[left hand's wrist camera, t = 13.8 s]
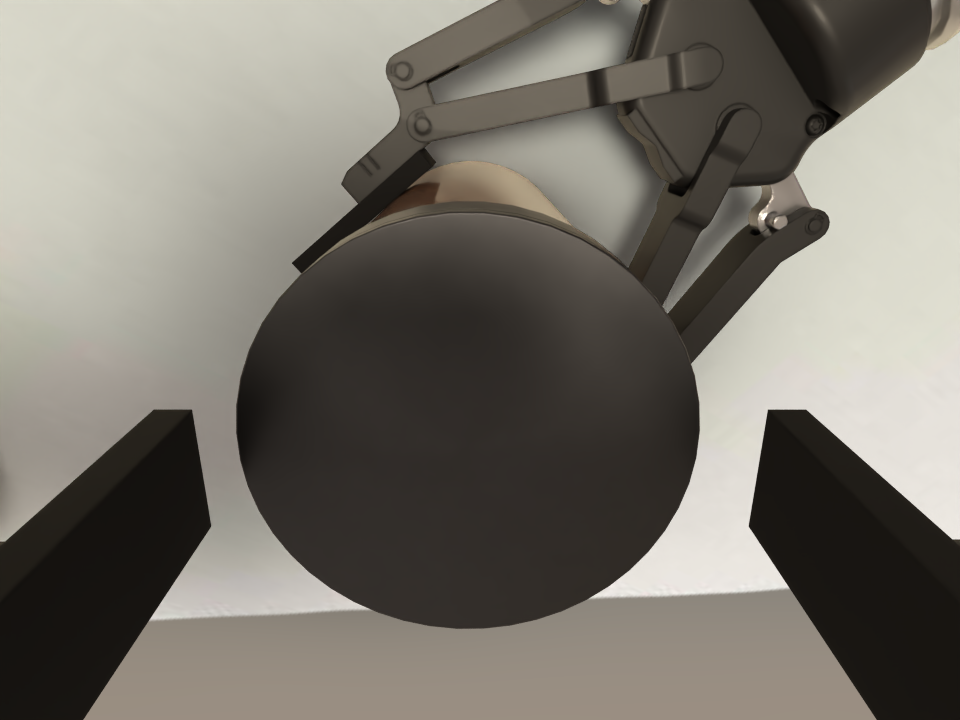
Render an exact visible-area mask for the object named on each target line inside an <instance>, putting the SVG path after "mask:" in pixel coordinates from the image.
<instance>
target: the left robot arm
mask: <svg viewBox="0 0 960 720" xmlns="http://www.w3.org/2000/svg"><path fill="white" fill-rule="evenodd" d="M210 527H211V522H210V516H209V510H208V504H207V498H206V492H205V486H204V480H203V473H202V467H201V461H200V455H199V449H198V443H197V437H196V431H195V425H194V419H193V413H192V410H153V411H152V412H151V413H150V414H149V415H147V416H146V417H145V418H144V419H143V420H142V421H141V422H140V423H138V424H137V425H136V426H135V427H134V428H133V429H132V430H130V431H129V432H128V433H127V434H126V435H125V436H124V437H123V438H121V439H120V440H119V441H118V442H117V443H116V444H115V445H114V446H112V447H111V448H110V449H109V450H108V451H107V452H106V453H105V454H103V455H102V456H101V457H100V458H99V459H98V460H97V461H96V462H94V463H93V464H92V465H91V466H90V467H89V468H88V469H87V470H85V471H84V472H83V473H82V474H81V475H80V476H79V477H78V478H76V479H75V480H74V481H73V482H72V483H71V484H70V485H69V486H67V487H66V488H65V489H64V490H63V491H62V492H61V493H60V494H58V495H57V496H56V497H55V498H54V499H53V500H52V501H50V502H49V503H48V504H47V505H46V506H45V507H44V508H43V509H41V510H40V511H39V512H38V513H37V514H36V515H35V516H34V517H32V518H31V519H30V520H29V521H28V522H27V523H26V524H25V525H23V526H22V527H21V528H20V529H19V530H18V531H17V532H16V533H14V534H13V535H12V536H11V537H10V538H9V539H8V540H7V541H5V542H0V720H83V719H84V718H85V716H86V715H87V713H88V712H89V710H90V709H91V707H92V706H93V704H94V703H95V701H96V700H97V698H98V697H99V695H100V694H101V692H102V691H103V689H104V687H105V686H106V685H107V683H108V682H109V680H110V678H111V677H112V675H113V674H114V672H115V671H116V669H117V668H118V666H119V665H120V663H121V662H122V660H123V659H124V657H125V656H126V654H127V653H128V651H129V650H130V648H131V647H132V645H133V644H134V642H135V641H136V639H137V638H138V636H139V635H140V633H141V632H142V630H143V629H144V627H145V626H146V624H147V623H148V621H149V620H150V618H151V617H152V615H153V614H154V612H155V611H156V609H157V607H158V606H159V604H160V603H161V601H162V600H163V598H164V597H165V595H166V594H167V592H168V591H169V589H170V588H171V586H172V585H173V583H174V582H175V580H176V579H177V577H178V576H179V574H180V573H181V571H182V570H183V568H184V567H185V565H186V564H187V562H188V561H189V559H190V558H191V556H192V555H193V553H194V552H195V550H196V549H197V547H198V546H199V544H200V543H201V541H202V540H203V538H204V537H205V535H206V533H207V532H208V530H209V529H210ZM749 527H750V529H751V530H752V532H753V533H754V535H755V537H756V538H757V540H758V541H759V543H760V544H761V546H762V547H763V549H764V550H765V552H766V553H767V555H768V556H769V558H770V559H771V561H772V562H773V564H774V565H775V567H776V568H777V570H778V571H779V573H780V574H781V576H782V577H783V579H784V580H785V582H786V583H787V585H788V586H789V588H790V589H791V591H792V592H793V594H794V595H795V597H796V598H797V600H798V601H799V603H800V604H801V606H802V607H803V609H804V610H805V612H806V614H807V615H808V617H809V618H810V620H811V621H812V622H813V624H814V626H815V627H816V629H817V630H818V632H819V633H820V635H821V636H822V638H823V639H824V641H825V642H826V644H827V645H828V647H829V648H830V650H831V651H832V653H833V654H834V656H835V657H836V659H837V660H838V662H839V663H840V665H841V666H842V668H843V669H844V671H845V672H846V674H847V675H848V677H849V678H850V680H851V682H852V683H853V684H854V686H855V687H856V689H857V691H858V692H859V693H860V695H861V697H862V698H863V700H864V701H865V703H866V704H867V706H868V707H869V709H870V710H871V712H872V713H873V715H874V716H875V718H876V719H877V720H960V540H952V539H951V538H950V537H949V536H948V535H947V534H946V533H944V532H943V531H942V530H941V529H940V528H939V527H938V526H937V525H935V524H934V523H933V522H932V521H931V520H930V519H929V518H928V517H926V516H925V515H924V514H923V513H922V512H921V511H920V510H919V509H917V508H916V507H915V506H914V505H913V504H912V503H911V502H910V501H908V500H907V499H906V498H905V497H904V496H903V495H902V494H900V493H899V492H898V491H897V490H896V489H895V488H894V487H893V486H891V485H890V484H889V483H888V482H887V481H886V480H885V479H884V478H882V477H881V476H880V475H879V474H878V473H877V472H876V471H875V470H873V469H872V468H871V467H870V466H869V465H868V464H867V463H866V462H864V461H863V460H862V459H861V458H860V457H859V456H858V455H857V454H855V453H854V452H853V451H852V450H851V449H850V448H849V447H848V446H846V445H845V444H844V443H843V442H842V441H841V440H840V439H839V438H837V437H836V436H835V435H834V434H833V433H832V432H831V431H830V430H828V429H827V428H826V427H825V426H824V425H823V424H822V423H820V422H819V421H818V420H817V419H816V418H815V417H814V416H813V415H811V414H810V413H809V412H808V411H807V410H768V413H767V419H766V425H765V431H764V437H763V443H762V449H761V455H760V461H759V467H758V473H757V480H756V486H755V492H754V498H753V504H752V510H751V516H750V522H749Z"/></svg>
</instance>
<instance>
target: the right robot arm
mask: <svg viewBox="0 0 960 720" xmlns="http://www.w3.org/2000/svg"><path fill="white" fill-rule="evenodd" d="M586 1H587V0H498V1H496V2H494V3H492V4H490V5H488V6H486V7H484V8H483V9H481V10H479V11H477V12H475V13H473V14H471V15H469V16H467V17H465V18H463V19H461V20H459V21H458V22H456V23H454V24H452V25H450V26H448V27H446V28H444V29H442V30H440V31H438V32H436V33H435V34H433V35H431V36H429V37H427V38H425V39H423V40H421V41H419V42H417V43H415V44H413V45H411V46H410V47H408V48H406V49H404V50H402V51H400V52H398V53H396V54H394V55H393V56H392V57H391V58H390V59H389V61H388V63H387V65H386V74H387V78H388V80H389V81H390V83H391V85H392V88H393V91H394V93H395V96H396V99H397V101H398V104H399V108H400V117H399V121H398V123H397V125H396V127H395V128H394V129H393V130H392V131H391V132H390V133H389V134H388V135H387V136H385V137H384V138H383V139H382V140H381V141H380V142H379V143H378V144H377V145H376V146H374V147H373V148H372V149H371V150H370V151H369V152H368V153H367V154H366V155H365V156H363V157H362V158H361V159H360V160H359V161H358V162H357V163H356V164H355V165H354V166H352V167H351V168H350V169H349V170H348V171H347V173H346V175H345V177H344V179H343V182H342V184H341V185H342V186H343V187H344V188H345V189H346V190H347V191H348V193H349V194H350V195H351V196H352V197H353V198H354V199H355V201H356V202H357V203H358V205H357V206H355V207H354V208H353V209H352V210H351V211H350V212H349V213H348V214H346V215H345V216H344V217H343V218H342V219H341V220H340V221H339V222H337V223H336V224H335V225H334V226H333V227H332V228H331V229H330V230H328V231H327V232H326V233H325V234H324V235H323V236H322V237H321V238H319V239H318V240H317V241H316V242H315V243H314V244H313V245H312V246H310V247H309V248H308V249H307V250H306V251H305V252H304V253H303V254H301V255H300V256H299V257H298V258H297V259H296V260H295V261H294V262H292V264H293V265H294V266H295V267H296V268H297V269H298V270H299V271H300V272H301V273H303V272H304V271H305V270H306V269H308V268H309V267H310V266H311V265H312V264H313V263H314V262H315V261H316V260H317V259H319V258H320V257H321V256H322V255H324V254H325V253H326V252H327V251H328V250H330V249H331V248H332V247H333V246H335V245H336V244H337V243H338V242H339V241H341V240H342V239H344V238H346V237H347V236H349V235H351V234H352V233H354V232H356V231H357V230H359V229H360V228H362V227H364V226H365V225H366V224H368V223H369V222H370V221H371V220H372V219H373V218H374V217H375V216H377V215H378V214H379V213H380V212H381V211H382V210H383V209H385V208H386V207H387V206H388V205H389V204H390V203H391V202H393V201H394V200H395V199H396V198H397V197H398V196H399V195H401V194H402V193H403V192H404V191H405V190H406V189H407V188H409V187H410V186H411V185H412V184H413V183H414V182H415V181H417V180H418V179H419V178H420V177H421V176H422V175H423V174H424V173H426V172H427V171H428V170H429V169H430V168H431V167H432V166H433V165H434V164H435V163H436V162H435V160H434V159H433V158H432V157H431V155H430V154H429V153H428V152H427V151H426V149H425V147H426V146H427V145H428V144H429V143H430V142H432V141H436V140H441V139H446V138H450V137H455V136H460V135H465V134H469V133H474V132H479V131H484V130H489V129H493V128H498V127H503V126H508V125H512V124H517V123H522V122H527V121H531V120H536V119H541V118H546V117H550V116H555V115H560V114H565V113H570V112H574V111H579V110H584V109H589V108H594V107H599V106H604V105H609V104H614V103H616V105H617V110H618V113H619V114H618V115H616V116H617V118H618V119H619V121H620V122H621V124H622V125H623V126H624V128H625V129H626V131H627V132H628V133H630V134H631V135H632V136H633V137H635V138H636V139H637V140H638V141H640V142H641V143H642V144H643V146H644V149H645V151H646V154H647V157H648V160H649V163H650V165H651V166H652V167H653V169H654V170H655V172H656V173H657V175H658V176H659V177H660V179H663V180H666V181H667V182H666V185H665V187H664V189H663V191H662V193H661V195H660V197H659V199H658V202H657V210H656V213H655V215H654V217H653V219H652V221H651V223H650V225H649V227H648V229H647V231H646V234H645V236H644V238H643V240H642V242H641V244H640V246H639V248H638V250H637V252H636V254H635V256H634V258H633V260H632V262H631V264H630V266H629V268H628V269H629V270H630V271H631V272H632V273H633V274H634V275H635V276H636V277H637V278H638V279H639V280H640V281H641V282H642V283H643V284H644V285H645V286H646V287H647V289H648V290H649V291H650V292H651V293H652V294H653V295H654V296H655V297H656V298H657V300H658V301H659V303H660V304H661V306H662V305H663V303H664V301H665V299H666V298H667V296H668V294H669V292H670V290H671V288H672V286H673V284H674V282H675V280H676V278H677V276H678V274H679V272H680V270H681V268H682V267H683V265H684V263H685V261H686V259H687V257H688V255H689V253H690V251H691V249H692V247H693V245H694V243H695V241H696V239H697V238H698V236H699V234H700V232H701V231H702V230H703V229H704V228H706V227H707V226H708V225H709V224H710V222H711V221H712V219H713V217H714V215H715V213H716V211H717V209H718V208H719V206H720V204H721V202H722V200H723V198H724V196H725V194H726V192H727V190H728V188H733V187H748V186H761V187H762V195H761V198H760V200H759V202H758V203H757V204H756V205H755V206H754V207H753V208H752V209H751V211H750V212H749V216H748V221H749V224H748V225H747V226H745V227H744V228H743V229H742V230H741V231H739V232H738V233H737V234H736V235H735V236H734V237H733V238H732V239H731V240H730V241H729V242H728V243H727V244H726V246H725V247H724V248H723V249H722V250H721V252H720V253H719V254H718V255H717V256H716V257H715V259H714V260H713V261H712V262H711V263H710V265H709V266H708V267H707V268H706V269H705V270H704V272H703V273H702V274H701V275H700V276H699V278H698V279H697V280H696V281H695V282H694V283H693V285H692V286H691V287H690V288H689V289H688V290H687V292H686V293H685V294H684V295H683V296H682V298H681V299H680V300H679V301H678V302H677V303H676V305H675V306H674V307H673V308H672V309H671V311H670V312H669V313H668V316H669V317H670V319H671V320H672V321H673V323H674V325H675V327H676V329H677V331H678V333H679V335H680V337H681V339H682V341H683V343H684V345H685V348H686V350H687V353H688V356H689V360H690V363H692V362H693V361H694V360H695V359H696V358H697V356H698V355H699V354H700V353H701V352H702V351H703V350H704V349H705V347H706V346H707V345H708V344H709V343H710V342H711V341H712V340H713V338H714V337H715V336H716V335H717V334H718V333H719V332H720V330H721V329H722V328H723V327H724V326H725V325H726V324H727V323H728V321H729V320H730V319H731V318H732V317H733V316H734V315H735V314H736V312H737V311H738V310H739V309H740V308H741V307H742V306H743V304H744V303H745V302H746V301H747V300H748V299H749V298H750V297H751V295H752V294H753V293H754V292H755V291H756V290H757V289H758V288H759V286H760V285H761V284H762V283H763V282H764V281H765V280H766V278H767V277H768V276H769V275H770V274H771V273H772V272H773V271H774V269H775V268H776V267H777V266H778V265H779V264H780V263H781V262H782V261H784V260H785V259H787V258H789V257H790V256H792V255H794V254H795V253H797V252H799V251H800V250H802V249H803V248H805V247H807V246H808V245H810V244H812V243H813V242H815V241H817V240H818V239H820V238H821V237H822V236H823V235H825V233H826V232H827V230H828V228H829V223H830V222H829V217H828V215H827V214H826V213H825V212H824V211H821V210H819V209H815V208H812V207H811V206H810V205H809V203H808V201H807V199H806V197H805V195H804V192H803V190H802V188H801V186H800V184H799V182H798V180H797V178H796V176H795V174H794V171H795V169H796V168H797V166H798V165H799V163H800V161H801V159H802V157H803V155H804V153H805V152H806V150H807V149H808V148H809V146H810V145H811V144H812V143H813V142H814V141H815V140H816V139H817V138H819V137H820V136H821V135H823V134H824V133H826V132H827V131H829V130H830V129H832V128H833V127H834V126H836V125H837V124H839V123H840V122H841V121H843V120H844V119H845V118H846V117H848V116H849V115H850V114H852V113H853V112H854V111H856V110H857V109H858V108H860V107H861V106H862V105H863V104H865V103H866V102H867V101H869V100H870V99H871V98H873V97H874V96H875V95H877V94H878V93H879V92H881V91H882V90H883V89H884V88H886V87H887V86H888V85H890V84H891V83H892V82H894V81H895V80H896V79H898V78H899V77H900V76H901V75H903V74H904V73H905V72H907V71H908V70H909V69H911V68H912V67H913V66H915V64H916V63H917V62H918V61H919V60H920V59H921V57H922V55H923V54H924V51H925V50H932V49H935V48H936V47H938V46H940V45H942V44H944V43H946V42H947V41H948V40H950V39H951V38H952V37H954V36H955V35H956V34H957V33H959V32H960V0H639V1H641V2H642V3H643V6H642V9H641V12H640V15H639V18H638V22H637V25H636V28H635V31H634V35H633V38H632V41H631V45H630V48H629V51H628V54H627V58H626V61H625V64H621V65H616V66H611V67H607V68H602V69H598V70H594V71H590V72H585V73H581V74H576V75H571V76H567V77H562V78H557V79H552V80H548V81H543V82H538V83H534V84H529V85H524V86H520V87H515V88H510V89H506V90H501V91H496V92H491V93H487V94H482V95H477V96H473V97H468V98H463V99H459V100H454V101H449V102H445V103H440V104H435V102H434V99H433V96H432V93H431V91H430V88H429V85H428V84H430V83H432V82H434V81H436V80H438V79H440V78H442V77H444V76H446V75H448V74H450V73H452V72H453V71H455V70H457V69H459V68H461V67H463V66H465V65H467V64H469V63H471V62H473V61H475V60H477V59H479V58H481V57H483V56H485V55H487V54H489V53H491V52H493V51H495V50H497V49H499V48H501V47H503V46H505V45H506V44H508V43H510V42H512V41H514V40H516V39H518V38H520V37H522V36H524V35H526V34H528V33H530V32H532V31H534V30H536V29H538V28H540V27H542V26H544V25H546V24H548V23H550V22H552V21H554V20H556V19H558V18H560V17H561V16H563V15H565V14H567V13H569V12H571V11H572V10H574V9H576V8H578V7H579V6H580V5H582V4H583V3H584V2H586ZM599 1H600V2H601V3H603V4H605V5H612V4H615V3H617V2H619V1H620V0H599Z"/></svg>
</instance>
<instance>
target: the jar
mask: <svg viewBox="0 0 960 720" xmlns="http://www.w3.org/2000/svg"><path fill="white" fill-rule="evenodd" d="M451 201H485V202H492V203H500V204H507V205H514V206H518V207H521V208H525V209H529V210H532V211H536V212H540V213H543V214H545V215H548V216H550V217H552V218H555V219H557V220H560V221H562V222H564V223H567V224H569V225H571V224H570V223H569V222H568V220H567V219H566V218H565V217H564V216H563V215H562V214H561V213H560V212H559V211H558V210H557V208H556V207H555V206H554V205H553V204H552V203H551V202H550V201H549V200H548V199H547V197H546V196H545V195H544V194H543V193H542V192H541V191H540V190H539V189H538V188H537V187H536V186H535V185H534V184H533V183H531V182H530V181H529V180H528V179H526V178H525V177H523V176H521V175H520V174H518V173H517V172H515V171H512V170H510V169H508V168H506V167H503V166H500V165H496V164H493V163H487V162H480V161H462V162H455V163H450V164H446V165H443V166H439V167H437V168H435V169H432V170H430V171H428V172H426V173H424V174H423V175H422V176H421V177H420V178H419V179H418V180H417V181H415V182H414V183H413V184H412V185H411V186H410V187H409V188H407V189H406V190H405V191H404V192H403V193H402V194H401V195H399V196H398V197H397V198H396V199H395V200H394V201H393V202H391V203H390V204H389V205H388V206H387V207H386V208H385V209H384V210H383V211H382V212H381V213H380V214H379V215H378V216H377V217H376V218H375V219H374V220H373V221H372V222H375V221H377V220H379V219H382V218H384V217H386V216H389V215H391V214H393V213H397V212H400V211H404V210H408V209H411V208H415V207H418V206H422V205H429V204H437V203H444V202H451ZM372 222H371V223H372ZM571 226H572V225H571Z"/></svg>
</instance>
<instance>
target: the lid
mask: <svg viewBox="0 0 960 720" xmlns="http://www.w3.org/2000/svg"><path fill="white" fill-rule="evenodd" d="M699 432H700V418H699V399H698V393H697V387H696V381H695V375H694V372H693V369H692V366H691V363H690V360H689V356H688V353H687V350H686V348H685V345H684V343H683V341H682V339H681V337H680V335H679V333H678V331H677V329H676V327H675V325H674V323H673V321H672V320H671V319H670V317H669V316H668V314H667V313H666V311H665V310H664V309H663V307H662V306H661V304H660V303H659V301H658V300H657V298H656V297H655V296H654V295H653V294H652V293H651V292H650V291H649V290H648V289H647V287H646V286H645V285H644V284H643V283H642V282H641V281H640V280H639V279H638V278H637V277H636V276H635V275H634V274H633V273H632V272H631V271H630V270H629V269H628V268H627V267H626V266H625V265H624V264H623V263H622V262H621V261H620V260H619V259H618V258H617V257H616V256H614V255H613V254H612V253H611V252H609V251H608V250H607V249H606V248H604V247H603V246H602V245H601V244H599V243H598V242H597V241H596V240H594V239H593V238H591V237H589V236H588V235H586V234H584V233H583V232H581V231H579V230H578V229H576V228H574V227H573V226H571V225H569V224H567V223H564V222H562V221H560V220H557V219H555V218H552V217H550V216H548V215H545V214H543V213H540V212H536V211H532V210H529V209H525V208H521V207H518V206H514V205H507V204H500V203H492V202H485V201H451V202H444V203H437V204H429V205H422V206H418V207H415V208H411V209H408V210H404V211H400V212H397V213H393V214H391V215H389V216H386V217H384V218H382V219H379V220H377V221H375V222H372V223H370V224H368V225H365V226H364V227H362V228H360V229H359V230H357V231H356V232H354V233H352V234H351V235H349V236H347V237H346V238H344V239H342V240H341V241H339V242H338V243H337V244H336V245H335V246H333V247H332V248H331V249H330V250H328V251H327V252H326V253H325V254H324V255H322V256H321V257H320V258H319V259H317V260H316V261H315V262H314V263H313V264H312V265H311V266H310V267H309V268H308V269H306V270H305V271H304V272H303V273H302V274H301V275H300V276H299V277H298V278H297V279H296V280H295V281H294V282H293V283H292V285H291V286H290V287H289V288H288V289H287V290H286V291H285V292H284V293H283V294H282V295H281V297H280V298H279V299H278V300H277V302H276V303H275V305H274V306H273V308H272V309H271V311H270V312H269V314H268V315H267V317H266V318H265V319H264V321H263V322H262V324H261V326H260V328H259V330H258V332H257V334H256V337H255V339H254V341H253V343H252V345H251V347H250V349H249V352H248V355H247V358H246V361H245V365H244V368H243V371H242V374H241V378H240V385H239V391H238V398H237V404H236V434H237V441H238V448H239V455H240V461H241V464H242V468H243V471H244V474H245V478H246V481H247V485H248V487H249V490H250V492H251V494H252V496H253V498H254V501H255V503H256V505H257V507H258V510H259V511H260V513H261V515H262V516H263V518H264V519H265V521H266V523H267V524H268V526H269V527H270V529H271V531H272V532H273V534H274V535H275V536H276V537H277V539H278V540H279V541H280V542H281V544H282V545H283V546H284V547H285V548H286V550H287V551H288V552H289V553H290V554H291V555H292V556H293V557H294V558H295V559H296V560H297V561H298V562H299V563H300V564H301V565H302V566H303V567H304V568H305V569H306V570H307V571H308V572H310V573H311V574H312V575H314V576H315V577H316V578H318V579H319V580H320V581H322V582H323V583H324V584H326V585H327V586H328V587H330V588H331V589H333V590H335V591H336V592H338V593H340V594H341V595H343V596H345V597H347V598H348V599H350V600H352V601H353V602H356V603H358V604H360V605H362V606H365V607H367V608H369V609H371V610H374V611H376V612H378V613H381V614H384V615H388V616H391V617H394V618H397V619H400V620H403V621H408V622H413V623H418V624H423V625H427V626H435V627H445V628H455V629H472V628H473V629H476V628H492V627H501V626H510V625H515V624H519V623H524V622H528V621H533V620H537V619H540V618H543V617H546V616H549V615H552V614H555V613H558V612H561V611H563V610H565V609H568V608H570V607H572V606H574V605H576V604H578V603H581V602H583V601H585V600H587V599H589V598H590V597H592V596H594V595H595V594H597V593H598V592H600V591H602V590H603V589H605V588H607V587H608V586H610V585H611V584H612V583H614V582H615V581H616V580H618V579H619V578H620V577H621V576H623V575H624V574H625V573H627V572H628V571H629V570H630V569H631V568H632V567H633V566H634V565H635V564H636V563H637V562H638V561H639V560H640V559H641V558H642V557H643V556H644V555H645V554H646V553H648V552H649V550H650V549H651V548H652V546H653V545H654V544H655V543H656V541H657V540H658V539H659V538H660V536H661V535H662V534H663V533H664V531H665V530H666V528H667V526H668V525H669V523H670V521H671V520H672V518H673V516H674V515H675V513H676V511H677V510H678V508H679V506H680V503H681V501H682V499H683V497H684V494H685V492H686V490H687V487H688V485H689V482H690V478H691V475H692V471H693V468H694V464H695V460H696V456H697V448H698V440H699Z"/></svg>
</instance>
